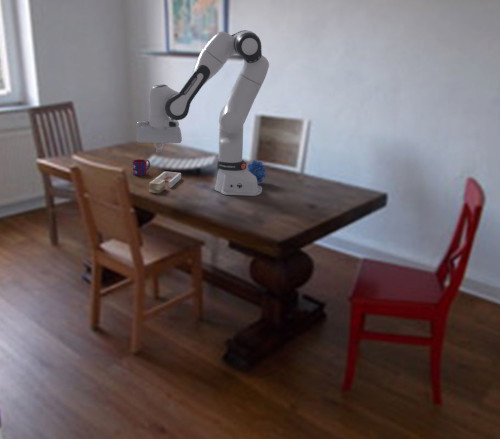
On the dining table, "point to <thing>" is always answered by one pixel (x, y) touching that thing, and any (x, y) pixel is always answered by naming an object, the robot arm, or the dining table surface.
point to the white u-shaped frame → (170, 177)
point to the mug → (140, 167)
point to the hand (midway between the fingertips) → (159, 152)
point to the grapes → (257, 170)
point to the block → (157, 186)
